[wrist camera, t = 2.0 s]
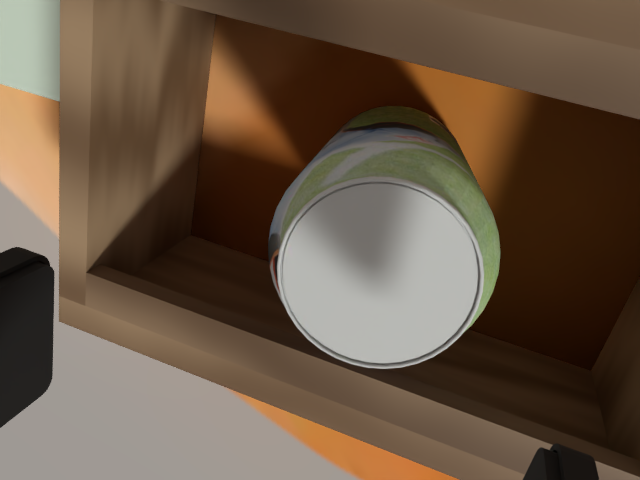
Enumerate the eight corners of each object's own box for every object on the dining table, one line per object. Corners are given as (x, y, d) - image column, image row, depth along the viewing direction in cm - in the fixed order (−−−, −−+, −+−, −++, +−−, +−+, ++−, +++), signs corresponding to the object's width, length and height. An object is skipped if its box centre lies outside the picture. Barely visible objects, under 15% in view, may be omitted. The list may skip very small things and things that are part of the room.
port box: (200, -82, 23) (60, -129, 16) (801, 45, 18) (987, 61, 11) (168, 248, 29) (59, 321, 22) (608, 401, 25) (648, 553, 18)
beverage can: (309, 135, 25) (158, 221, 14) (469, 63, 22) (433, 103, 11) (365, 259, 26) (266, 424, 15) (523, 207, 23) (538, 369, 12)
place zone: (-23, -124, 25) (-31, -126, 25) (151, -87, 23) (145, -89, 23) (-13, 77, 29) (-19, 78, 28) (137, 122, 27) (132, 123, 27)
